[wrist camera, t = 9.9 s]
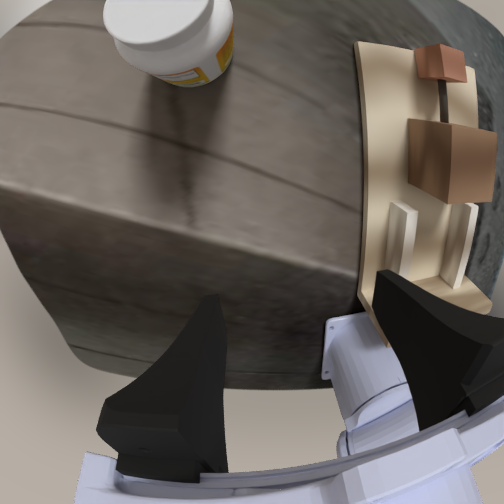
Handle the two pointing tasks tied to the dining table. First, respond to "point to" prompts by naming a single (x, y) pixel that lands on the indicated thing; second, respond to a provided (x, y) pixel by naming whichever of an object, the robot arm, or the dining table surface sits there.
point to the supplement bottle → (173, 37)
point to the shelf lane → (404, 194)
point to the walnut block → (449, 139)
